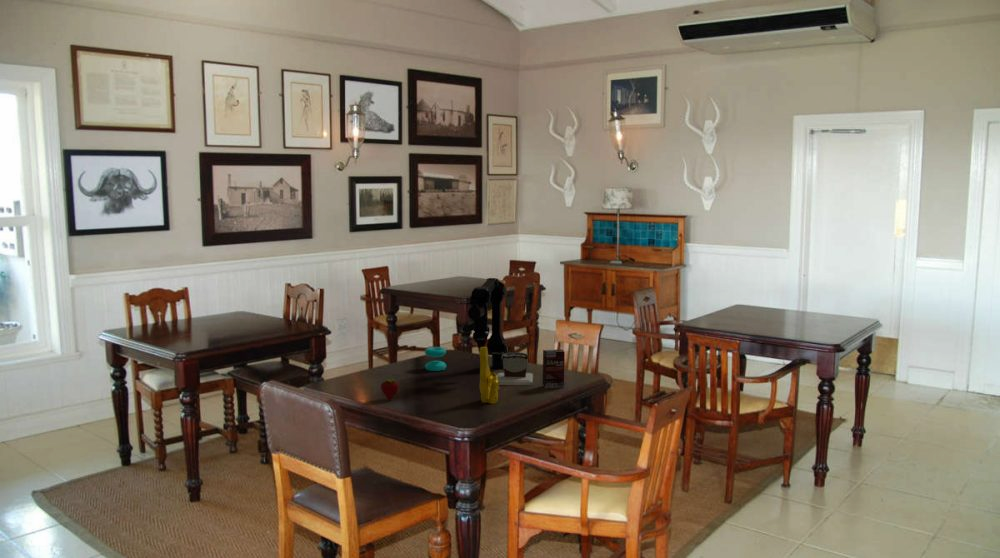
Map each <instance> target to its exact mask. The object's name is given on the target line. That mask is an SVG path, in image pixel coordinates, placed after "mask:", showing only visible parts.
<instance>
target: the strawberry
mask: <svg viewBox="0 0 1000 558" xmlns="http://www.w3.org/2000/svg"><path fill="white" fill-rule="evenodd" d="M380 388H381V391H382V393H383V394H384V396H385V397H386V398H387V400H389V401H392V400H393V398H394V397H395V396H396V395H397V393H398V391H399V388H400V384H399V383H398V382H397V380H396V379H395V378H390V379H387V378H386V379H384V381H383V382H382V383H381V384H380Z"/></svg>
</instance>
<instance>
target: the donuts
mask: <svg viewBox="0 0 1000 558" xmlns="http://www.w3.org/2000/svg"><path fill="white" fill-rule="evenodd" d="M446 353H447V349H446V348H444V347H442V346H431V347H427V348H426V349H425V350H424V354H425V355H426V356H427V357H431V358H440V357H444V356H445V355H446ZM424 368H425V370H426V371H429V372H442V371H444V370H446V369H447V363H445V361H441V360H430V361H428V362H427V363H425V365H424ZM441 370H442V371H441Z"/></svg>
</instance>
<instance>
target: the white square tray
mask: <svg viewBox="0 0 1000 558" xmlns="http://www.w3.org/2000/svg"><path fill="white" fill-rule="evenodd" d="M496 375H497V380H498V386H532V385H534V381H533V380H534V373H532V372H526V377H504V372H498V373H496Z"/></svg>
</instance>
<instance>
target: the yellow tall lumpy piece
mask: <svg viewBox="0 0 1000 558" xmlns="http://www.w3.org/2000/svg"><path fill="white" fill-rule="evenodd" d="M479 362H480V367H479V391H480V398H481V403H484V404H485V403H488V404H493V405H494V403H495V404H496V403H498V400H499V392H498V391H499V390H500V389H501V387H500V385H498V380H497V373H494V372H493V371H491V367H490V364H489V355H488V350H487V346H484V347H481V348H480V354H479Z"/></svg>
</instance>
